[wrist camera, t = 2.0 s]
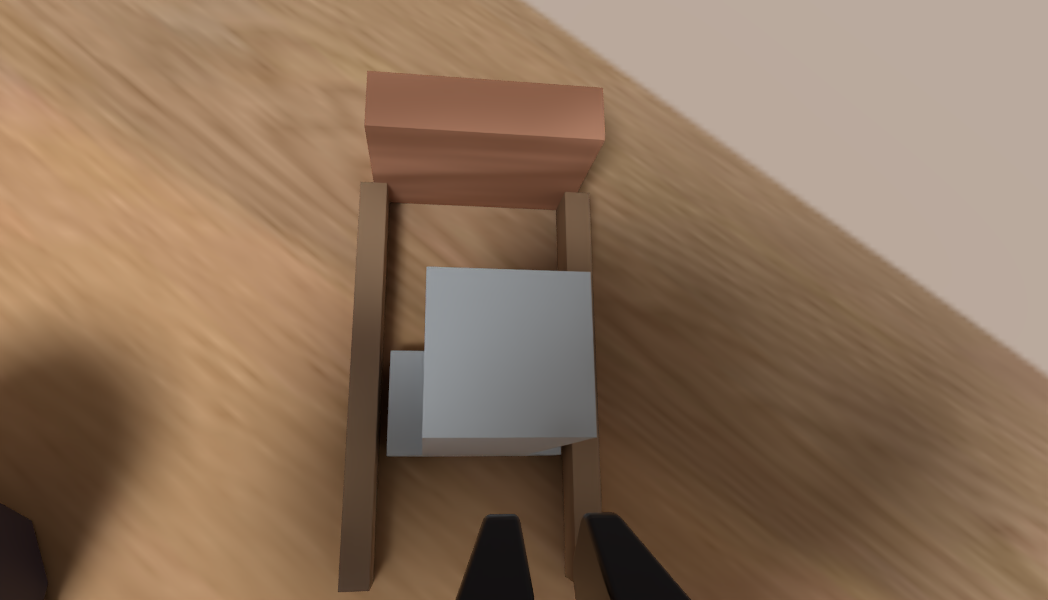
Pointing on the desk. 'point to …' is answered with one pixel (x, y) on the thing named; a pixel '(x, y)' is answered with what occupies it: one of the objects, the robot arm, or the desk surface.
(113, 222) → the desk surface
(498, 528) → the robot arm
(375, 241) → the guide track
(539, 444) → the sliding block
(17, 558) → the speaker
